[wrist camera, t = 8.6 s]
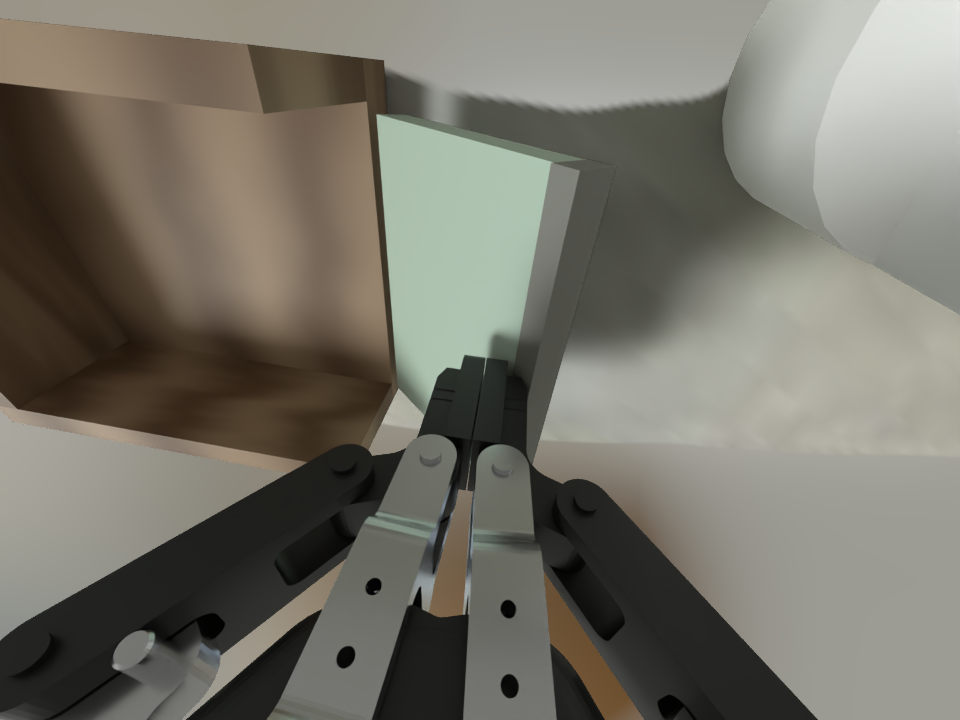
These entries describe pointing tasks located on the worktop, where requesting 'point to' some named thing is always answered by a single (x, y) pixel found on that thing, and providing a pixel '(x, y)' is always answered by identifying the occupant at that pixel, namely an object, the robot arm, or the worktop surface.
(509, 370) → the panel
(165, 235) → the box
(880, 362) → the worktop surface
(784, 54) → the cylinder with rectangular tab
